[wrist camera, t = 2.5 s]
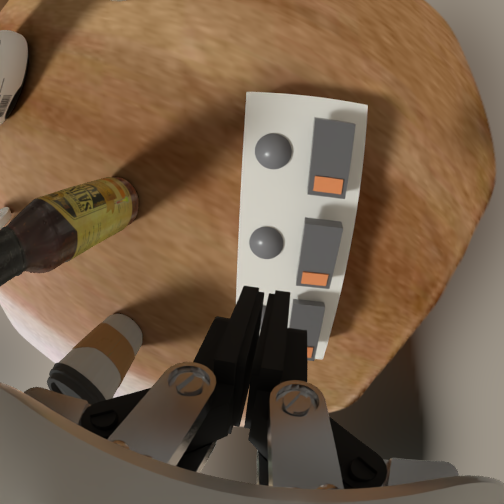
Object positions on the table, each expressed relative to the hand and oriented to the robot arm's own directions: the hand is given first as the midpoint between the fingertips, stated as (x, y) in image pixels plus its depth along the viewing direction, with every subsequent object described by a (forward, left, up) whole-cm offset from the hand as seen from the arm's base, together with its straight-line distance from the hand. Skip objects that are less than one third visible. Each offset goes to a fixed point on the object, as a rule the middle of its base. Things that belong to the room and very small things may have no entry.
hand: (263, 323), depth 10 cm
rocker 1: (+10, +3, -13) cm, 17 cm away
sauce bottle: (0, -19, -19) cm, 26 cm away
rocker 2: (-6, +3, -13) cm, 15 cm away
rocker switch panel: (+2, +1, -18) cm, 19 cm away
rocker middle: (+2, +3, -13) cm, 14 cm away
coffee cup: (+19, -21, -19) cm, 34 cm away
